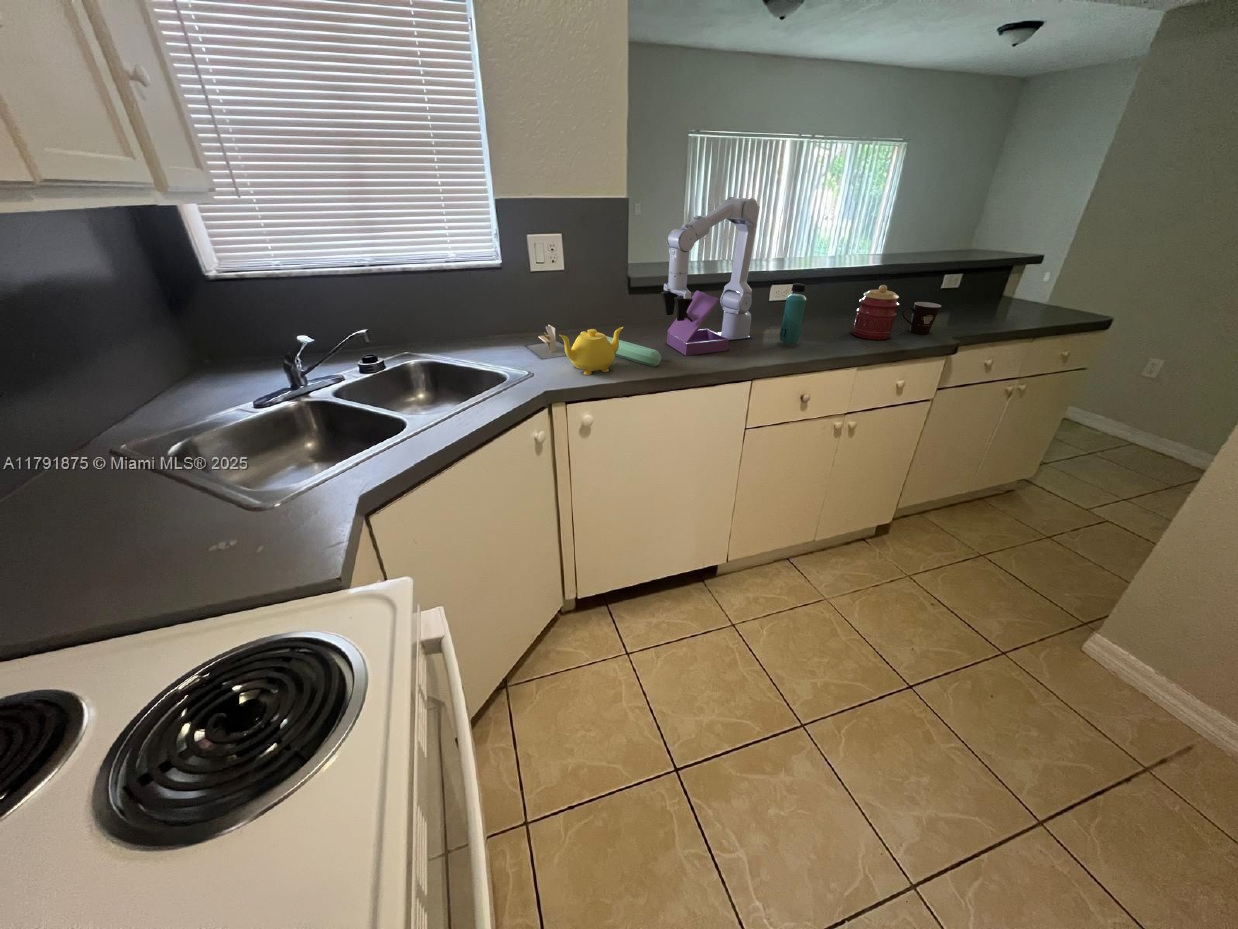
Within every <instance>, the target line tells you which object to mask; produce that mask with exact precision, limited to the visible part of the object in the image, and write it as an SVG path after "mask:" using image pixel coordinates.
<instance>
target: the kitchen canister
mask: <svg viewBox="0 0 1238 929" xmlns="http://www.w3.org/2000/svg"><path fill="white" fill-rule="evenodd" d="M863 296H864V297H863V298H862V297H861V298H860V299H859V303H860V304H859V306H858V307H859V308H857V309H856V314H855V319H854V322H853V325H852V328H851V334H852V335H853V336H856V337H858V338H862V339H867V340H879V341H881V340H882V341H883V340H887V339H889V338H890V336H891V334H892V330H893V326H894V324H895V320H896V317H897V309H898V307H899V306H901V305H900V302H898V300H899V298H900V296H899V295H898V294H896V292H894V291H891V290H888V286H887V285H886V284H881V285H880V286H879V287H878V289H869V290H868V291H866V292H864V293H863Z"/></svg>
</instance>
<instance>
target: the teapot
mask: <svg viewBox="0 0 1238 929" xmlns="http://www.w3.org/2000/svg"><path fill="white" fill-rule="evenodd" d="M623 329H624V326H621V327H618V328H616V330H615V331H614V333H613V337H612V338H613V341H612V343H610V342H609V340H608V338H607V337H608V336H607V335H606V334H604V333H602V332H598V331H597V329H595V328H590V329H587V330H586V331H581V332H580V334H579V335H577V337H576V338H575V341H574V342H573V344H572V346H571V344H570V340H569V338H568V336H566V335H563V334H558V336H559V337H560V338H561V339H562V341H563V345H564V346H565V353H566V355H565V356H566V357H567V358H568V359H569V360H570V362H571V363H572V364H573V366H575V367H576V369H579V370H584V371H583V375H585V376H586V375H587V376H588V375H589V376H590V375H592V372H593V371H601V372H603V373H608V372H609V371H610V370H609V368H610V366H612V365H613V363H614V362H615V359H616V356H615V353H616V352H617V350H618V348H619V340H620V333H621V331H622V330H623ZM606 336H607V337H606Z"/></svg>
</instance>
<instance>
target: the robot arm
mask: <svg viewBox="0 0 1238 929" xmlns="http://www.w3.org/2000/svg"><path fill="white" fill-rule="evenodd" d="M760 209H761V206H760V204H759V203H758V201H757V199H755V198H754V197H749V198H748V197H734V196H729V197H728V198H726V199H724V200H723V201H722V202H721V204H720V205H718V206H717V207H715V209H713V210H712V211H711V212H709V213H708V214H706V215H705V216H704V215H695V216H693V219H692V220H690V221H689V222H687V223H684V224H681V227H680V228H673V229H672V230H671V231H670V232H669V233H668V236H667V238H666V239H665V240H666V246H667V248H668V254H669V264H668V279H667V280H668V282H667V283H663V291H661V292H660V295H661V298H662V300H663V304H664V310H665V315H666V316H673V315H674V312H675V310H676V311H677V313H676V318H677V321H684V318H685V315H686V312H687V310H688V307H689V306H690V304H691V302H692V301H693V298H692V292H691V291H690V290H689V289H688V287H687V285H688V271H689V262H690V261H689V259H690V251H691V250H692V249H693V248H694V245H695V243H697V242H699V240H701V239H702V238H704V237H706V236H707V235H709V233H710V230H711V228H712V227H714V226H716V225H718V224H719V223H721V222H722V221H725V220H727V221H729V223H731V224H733V225H734V226H735V227H736V229H737V232H738V233H737V239H736V244H735V245H736V246H735V251H734V257H733V264H732V270H731V277H730V281H729V282H727V283H726V284H725V285H724V286H723V292H722V294H721V296H720V298H719V301H720V306H721V308H722V311H723V316H722V317H723V318H722V325H721V331H720V332H716V333H717V334H719V335H721V336H723V337H725V338H727V339H729V341H733V340H742V339H750V338H751V336H750V332H751V325H752V314H751V312H750V311H749V310H750V308H751V306H752V303H753V299H752V298H753V297H752V293H753V290H752V288H751V287H750V285H749V284H748V277H749V272H750V267H751V260H752V255H753V250H754V244H755V237H756V233H757V228H758V227H757V226H758V219H759V213H760Z"/></svg>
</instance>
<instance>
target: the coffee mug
mask: <svg viewBox="0 0 1238 929" xmlns="http://www.w3.org/2000/svg"><path fill="white" fill-rule="evenodd" d="M941 308H942V305H941V304H938V303H934V302H928V301H916V302H914V304H913V307H910V306H909V307H905V308H904V309H902V311H901V316H902V318H903V319H904V320H905V321H906V322H907V323H908V324H909V332H910V333H912V334H918V335H928V334H929V333H930V331H931V329H932V327H933V325H934V322H935V320H936V318H937V316H938V314H939V312H940V310H941ZM907 310H911V311H912V315H911V321H910V320H909V319H908V318H906V317H905V315H904V314H905V311H907Z"/></svg>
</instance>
